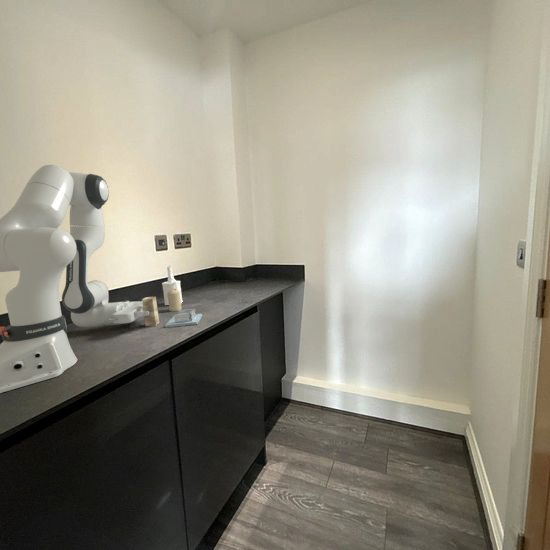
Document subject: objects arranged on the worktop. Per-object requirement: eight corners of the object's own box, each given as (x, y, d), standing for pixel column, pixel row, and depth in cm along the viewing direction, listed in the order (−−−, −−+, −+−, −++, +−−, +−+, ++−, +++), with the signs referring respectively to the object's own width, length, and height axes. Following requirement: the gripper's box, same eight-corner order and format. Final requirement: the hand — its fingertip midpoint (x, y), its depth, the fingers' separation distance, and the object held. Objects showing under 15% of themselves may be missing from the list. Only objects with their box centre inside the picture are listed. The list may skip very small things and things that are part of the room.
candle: (177, 311, 136) (175, 290, 135) (167, 311, 137) (164, 290, 136) (183, 308, 141) (181, 288, 140) (173, 308, 142) (171, 288, 141)
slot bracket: (179, 317, 122) (178, 310, 121) (195, 315, 122) (194, 308, 122) (174, 322, 114) (174, 315, 114) (192, 320, 115) (191, 313, 114)
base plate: (173, 318, 124) (173, 316, 124) (202, 315, 125) (201, 313, 124) (165, 327, 112) (165, 325, 112) (196, 324, 113) (196, 322, 113)
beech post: (145, 326, 115) (141, 299, 114) (149, 323, 119) (145, 297, 118) (156, 325, 116) (152, 298, 114) (159, 322, 119) (155, 296, 118)
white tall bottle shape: (161, 304, 153) (156, 267, 151) (177, 300, 160) (173, 264, 157) (170, 307, 146) (165, 267, 143) (187, 302, 152) (182, 265, 150)
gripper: (102, 312, 105) (142, 308, 106) (126, 299, 125) (159, 296, 126) (105, 329, 106) (144, 325, 107) (129, 314, 126) (161, 311, 127)
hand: (152, 309), depth 117 cm, fingers open, 7 cm apart
